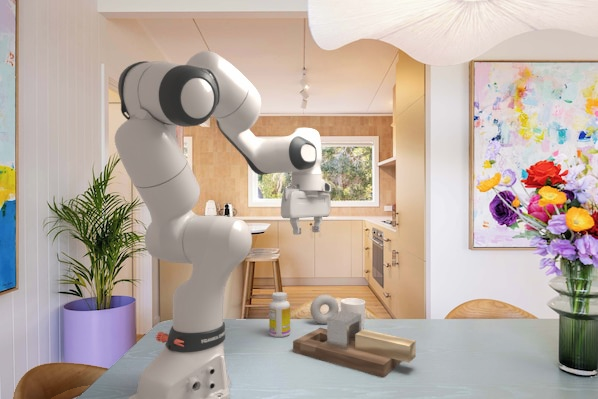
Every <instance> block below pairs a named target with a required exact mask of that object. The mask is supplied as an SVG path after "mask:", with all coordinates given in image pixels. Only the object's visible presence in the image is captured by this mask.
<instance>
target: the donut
mask: <svg viewBox="0 0 598 399" xmlns="http://www.w3.org/2000/svg"><path fill="white" fill-rule="evenodd" d="M325 305H326V306H327V307H328V311H327V312H326V313H322V312H321V308H322V306H325ZM309 311H310V316H311V317H312V319H313V321H315V322H316V323H319V324H322V325H327V318H328V317H330V316H332V315H334V314H336V313H338V312H339V304H338V301H337V300H336V299H335V298H334V297H333V296H332V295H330V294H320V295H318V296H316V297H315V298H314V299H313V300H312V302H311V304H310V309H309Z"/></svg>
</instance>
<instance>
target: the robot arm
mask: <svg viewBox="0 0 598 399" xmlns="http://www.w3.org/2000/svg"><path fill="white" fill-rule="evenodd" d="M117 83H118V86H117V89H118V90H117V91H118V96H119V99H120V111H121V114H122V115H123V117H124V118H125V119H126V121H124V122H123V123H122V124H120V126H119V127H118V128H117V130H116V131H115V135H114V143H115V144H114V145H115V147H116V149H117V153H118V156H119V158H120V160H121V163H122V166H123V168H124V170H125V172H126V173H127V176H128V177H129V179H130V180H131V182H132V184H133V185H134V187H135V189H136V191H137V193H138V194H139V195H140V197H141V199H142V201H143V202H144V204H145V206H146V207H147V210H148V212H149V216H150V218H151V223H149V225H148V226H147V229H146V230H145V235H144V244H145V247H146V250H147V252H148V254H149V255H151V257H153V258H155V259H159V260H161V261H164V262H168V263H176V264H189V265H190V264H192V272H191V275H190V277H189V279H188V280H186V281H184V282H182V283H181V284H180V285H179V286H177V287H176V289H175V291H174V292H173V295H172V325H171V328H170V330H169V332H168V333H167V332H163V331H159V332H157V334H156V335H155V336H156V337H155V340H156V341H157V342H160V343H163V344H164V343H165V347H163V349H162V350H161V351H160V352H159V353H158V354H157V356H155V357H154V359H152V361H151V362H150V363H149V364H148V365H147V366H146V367H145V369H144V370H143V371H141V373H140V375H139V378H138V382H137V389H136V393H134V394H132V395H130V396H129V397H127V398H126V399H230V396H231V395H230V388H231V384H232V383H231V380H230V376H229V372H228V369H227V362H226V354H225V343H224V342H225V340H226V325H225V324H226V323H225V322H224V299H225V298H224V297H225V289H226V285H227V282H228V280H229V278H230V276H231V274H232V272H233V271H234V269H236V267H237V266H238V265H240V264H241V263H243V261H245V259H246V258H247V257H248V256H249V254H250V252H251V249H252V245H253V236H252V231H251V230H250V229H251V228H250V227H249V225H248V224H247V223H246V222H245V220H243V219H239V218H236V217H232V216H228V215H200V214H196V213H195V212H194V211H193V210H192V209H193V208H194V207H196V205H197V204H198V201H199V199H200V196H201V195H200V194H201V187H200V185H199V182H198V180H197V177H196V176H195V173H194V172H193V170H192V168H191V165H190V164H189V162H188V159H187V158H186V156H185V154H184V151H183V149H182V148H181V147H180V145H179V141H178V136H177V127H178V126H179V127H183V128H185V127H187V128H190V127H196V126H200V125H202V124H204V123H205V122H207V121H208V120H209V119H210V118H211V117H213V118H214V119H215V122H216V126H217V128H218V129H219V132H220V133H221V134H222V135H223V136H224V138H226V140H227V142H229V143H230V144H231V145H232V146H233V148H235V149H236V150H237V151H238V152H239V154H241V155H242V157H243V158H244V159H245V161H246V162H247V165H248V166H249V168H250V170H252V171H253V172H254V173H255V174H256V175H259V176H262V175H263V176H264V175H268V174H269V175H270V174H279V173H280V174H282V173H291V184H287V185H286V186H285V187H284V188H283V193H282V196H281V203H280V215H281V218H282V219H289V223H290V225H291V227H292V234H293V235H297V236H298V235H301V234H302V228H301V227H300V225H299V223H300V219H304V218H313V220H314V222H313V225H312V226H311V231H312V233H319V232H320V230H321V225H322V222H323V217H329V216H330V214H331V193H330V192H332V185H331V184H330V183H328V182H327V181H326V180H325V179H323V173H322V167H321V165H322V163H323V162H322V161H323V152H322V140H321V136H320V133H319V131H318V130H316V129H315V128H313V127H306V126H305V127H303V126H301V127H297V128H296V129H294V131H293V133H292V134H289V135H287V136H281V137H270V138H260V137H257V136H256V135H255V134H254V133H253V131H251V130H250V129H251V128H252V127H253V126H254V125H255V123H256V122H257V121H258V120H259V117H260V115H261V112H262V104H263V103H262V98H261V95H260V93H259V91H258V90H257V88H256V87H255V86H254V85H253V83H252V82H251V81H250V80H249V79H248V78H247V77H246V76H245V75H244V74H243V73H242V72H241V71H240V70H239V69H238V68H237V67H235V66H234V65H233V64H232V63H231V62H229V61H228V60H227V59H225V58H224V57H222V56H221V55H219V54H218V53H216V52H214V51H212V50H211V51H210V50H204V51H203V50H202V51H200V52H197V53H196V54H194V55H193V56H191V57H190V58H189V59H188V61H187V62H186V64H180V63H173V62H168V61H160V60H159V61H139V62H135V63H132V64H129V65H128V66H127V67H126V68H125V69H123V71H122V72H121V73H120V76H119V78H118V82H117Z"/></svg>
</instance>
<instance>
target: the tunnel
mask: <svg viewBox="0 0 598 399" xmlns="http://www.w3.org/2000/svg"><path fill="white" fill-rule="evenodd" d="M326 329H327V345H328V346H331V347H335V348H339V349H343V350H348V349H349V340H352V341H355V334H356V333H358V332H360V331H361V314H358V313H353V312H348V311H341V310H340V311H338V313H336V314H334V315H332V316H330V317H328V318H327V324H326Z"/></svg>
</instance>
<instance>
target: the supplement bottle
mask: <svg viewBox="0 0 598 399" xmlns="http://www.w3.org/2000/svg"><path fill="white" fill-rule="evenodd" d="M271 294H272V295H271V298H272V301H270V303H269V305H268V307H269V308H268V318H269V320H268V321H269V322H268V323H269V324H268V326H269V335H270V336H271V337H275V338H285V337H288V336H289V335H290V334H291V304H290V301H288V300H287V298H288V294H287V292H284V291H283V292H282V291H277V292H275V291H274V292H273V293H271Z"/></svg>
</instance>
